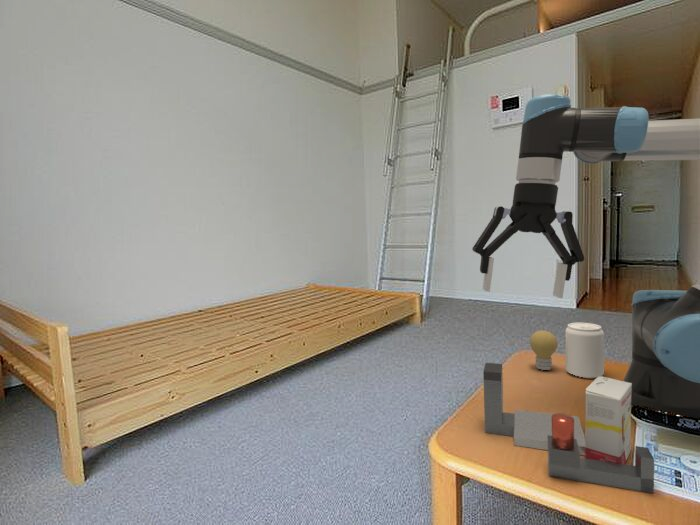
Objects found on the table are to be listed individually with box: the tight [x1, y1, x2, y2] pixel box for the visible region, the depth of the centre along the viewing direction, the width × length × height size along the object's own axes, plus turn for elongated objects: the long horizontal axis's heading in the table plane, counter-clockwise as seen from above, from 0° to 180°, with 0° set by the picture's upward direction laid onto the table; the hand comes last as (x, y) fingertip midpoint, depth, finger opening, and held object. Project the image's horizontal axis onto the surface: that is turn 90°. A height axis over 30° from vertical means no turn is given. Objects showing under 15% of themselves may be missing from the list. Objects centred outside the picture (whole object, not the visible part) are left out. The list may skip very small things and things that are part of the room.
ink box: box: [584, 375, 632, 464], centre depth 65 cm, size 9×5×12 cm, turn 136°
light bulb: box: [529, 330, 558, 371], centre depth 104 cm, size 6×6×10 cm
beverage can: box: [565, 322, 605, 379], centre depth 100 cm, size 8×8×12 cm
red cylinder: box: [547, 413, 581, 469], centre depth 62 cm, size 4×4×6 cm
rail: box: [547, 445, 655, 494], centre depth 60 cm, size 13×3×5 cm, turn 67°
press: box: [483, 362, 585, 457], centre depth 74 cm, size 16×11×12 cm
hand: (521, 293), depth 80 cm, fingers open, 13 cm apart
